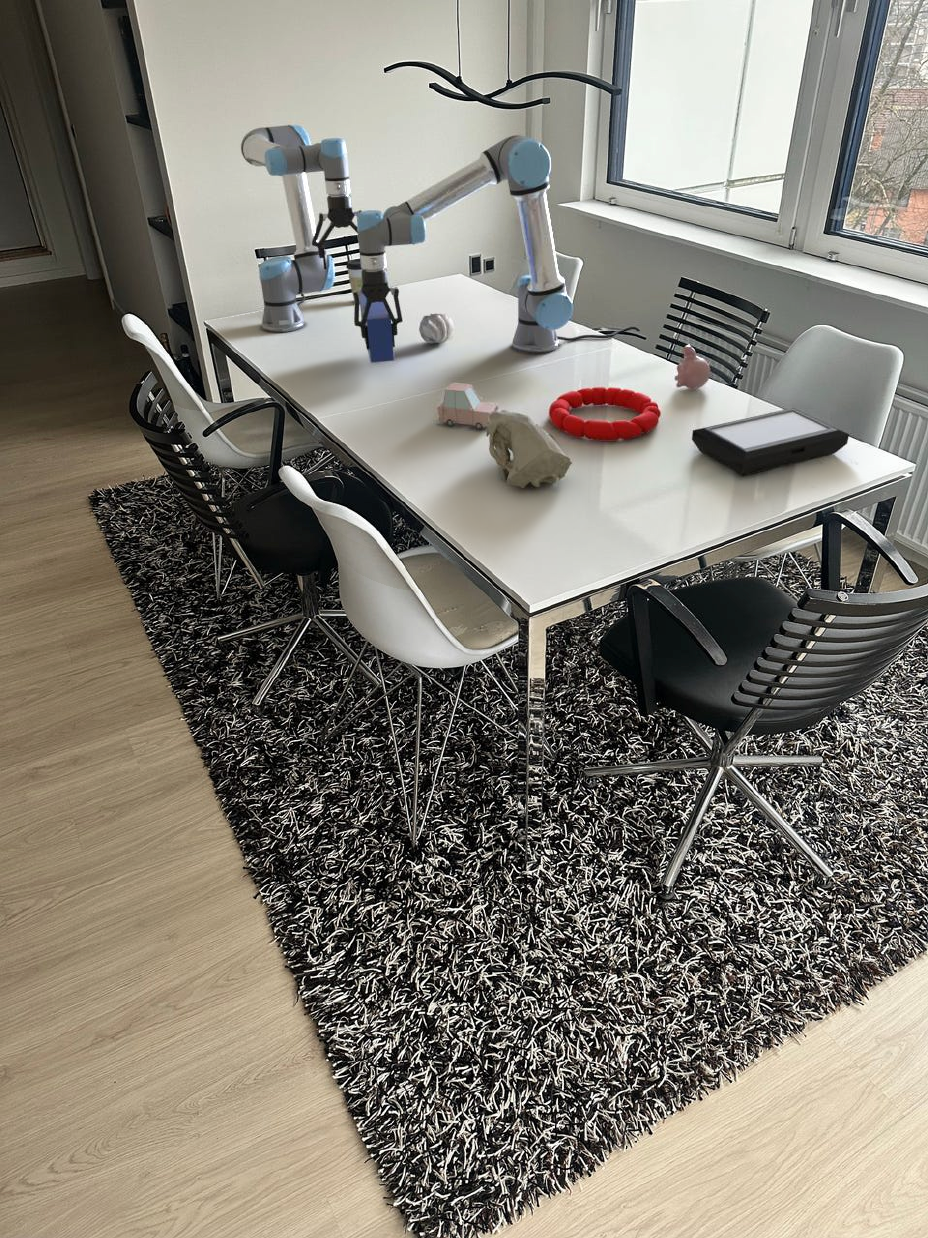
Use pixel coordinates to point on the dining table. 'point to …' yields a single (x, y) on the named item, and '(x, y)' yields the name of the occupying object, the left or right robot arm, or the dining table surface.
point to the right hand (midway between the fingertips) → (380, 346)
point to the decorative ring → (604, 428)
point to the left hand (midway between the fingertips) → (346, 266)
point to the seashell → (436, 328)
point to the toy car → (465, 406)
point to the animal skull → (525, 450)
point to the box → (378, 331)
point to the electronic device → (769, 441)
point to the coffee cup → (355, 275)
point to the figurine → (692, 370)
